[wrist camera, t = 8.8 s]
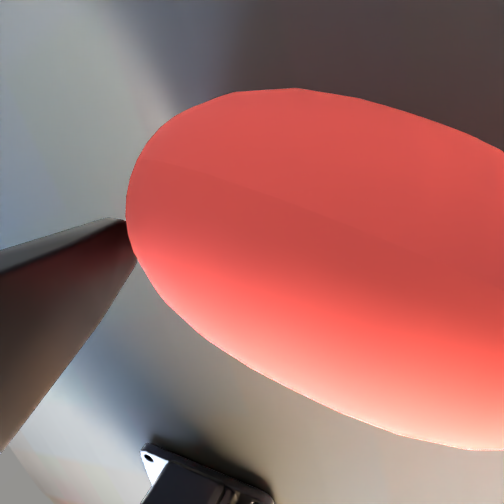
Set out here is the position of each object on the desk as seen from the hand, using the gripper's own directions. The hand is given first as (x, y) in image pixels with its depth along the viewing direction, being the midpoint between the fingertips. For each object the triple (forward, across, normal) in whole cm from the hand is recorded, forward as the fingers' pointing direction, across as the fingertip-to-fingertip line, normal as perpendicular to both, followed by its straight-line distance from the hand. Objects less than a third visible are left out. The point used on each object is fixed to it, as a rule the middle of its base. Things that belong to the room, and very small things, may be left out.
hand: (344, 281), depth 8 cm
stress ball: (+3, 0, 0) cm, 3 cm away
